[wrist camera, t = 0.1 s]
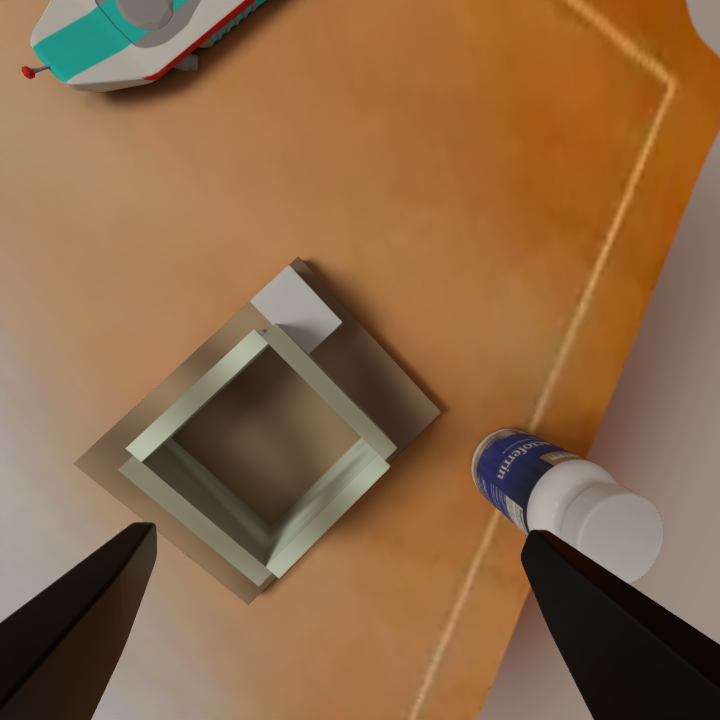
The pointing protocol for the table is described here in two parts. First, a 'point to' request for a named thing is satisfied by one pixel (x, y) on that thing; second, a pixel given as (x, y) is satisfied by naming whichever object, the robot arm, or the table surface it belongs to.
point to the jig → (261, 442)
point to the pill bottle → (568, 501)
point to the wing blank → (296, 310)
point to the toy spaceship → (128, 38)
